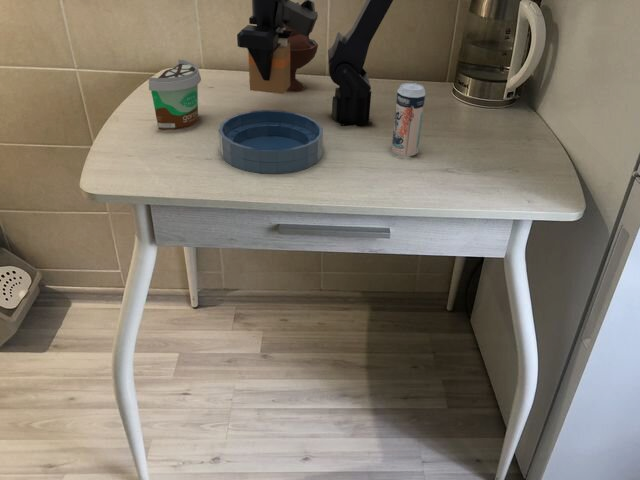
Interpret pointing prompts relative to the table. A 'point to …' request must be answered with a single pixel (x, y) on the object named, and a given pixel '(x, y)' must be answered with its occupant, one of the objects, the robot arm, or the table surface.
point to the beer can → (408, 119)
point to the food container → (176, 96)
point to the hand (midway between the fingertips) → (270, 75)
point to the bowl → (271, 141)
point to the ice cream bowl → (299, 55)
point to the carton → (273, 71)
